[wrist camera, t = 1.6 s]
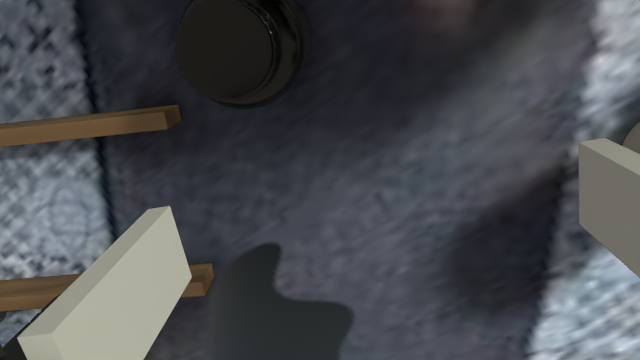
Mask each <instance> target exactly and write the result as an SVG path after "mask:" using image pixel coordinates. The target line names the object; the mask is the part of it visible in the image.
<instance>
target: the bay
mask: <svg viewBox="0 0 640 360" xmlns="http://www.w3.org/2000/svg"><path fill="white" fill-rule="evenodd" d="M180 121H182V119H181V114H180V109H179V104H178V105H169V106H160V107H151V108H142V109H133V110H124V111H115V112H106V113H97V114H87V115H78V116H69V117H60V118H51V119H42V120H33V121H24V122H15V123H6V124H0V147H5V146H14V145H23V144H33V143H42V142H52V141H61V140H71V139H80V138H89V137H99V136H108V135H118V134H127V133H136V132H146V131H155V130H165V129H169V128H170V127H172V126H174V125H175V124H177V123H179V122H180ZM188 266H189V269H190V273H191V276H192V278H191V280H190V281H189V283H188V285H187V286H186V288H185V290H184V291H183V293H182V295H181V297H194V296H205V294H206V292H207V290H208V288H209V286H210V284H211V282H212V280H213V278H214V276H215V275H214V271H213V266H212V263H205V264H193V265H188ZM81 275H82V274H73V275H61V276H49V277H37V278H25V279H13V280H1V281H0V322H2V321H3V320H4V318H5V316H6V311H14V310H27V309H40V308H44V307H45V306H46V305H47V304H48V303H49V302H50V301H51V300H52V299H54V298H55V297H56V296H58V295H60V294H61V293H63V292H64V291H65V290H66V289H67V288H68V287H69V286H70V285H71V284H72V283H73V282H74V281H75V280H77V279H78V278H79V277H80V276H81ZM181 297H180V298H181Z"/></svg>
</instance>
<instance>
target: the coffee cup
mask: <svg viewBox="0 0 640 360" xmlns="http://www.w3.org/2000/svg"><path fill="white" fill-rule="evenodd" d="M622 146H623V147H625V148H627V149H630V150H632V151H634V152H636V153H638V154H640V122H638V123H637V124H636V125H635V126H634V127H633V128H632V129H631V131H630V132H629V133H628V135H627V136H626V138H625V140H624V142H623V144H622Z"/></svg>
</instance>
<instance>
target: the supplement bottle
mask: <svg viewBox="0 0 640 360" xmlns="http://www.w3.org/2000/svg"><path fill="white" fill-rule="evenodd" d="M175 40H176V46H175V51H176V53H177V55H176V59H177V61H178V63H179V69H180V70H181V71H182V72H183V74H184V78H185V79H186V80H188V81H189V83H190V85H191V86H192V87H194V88H196V90H197V91H198V93H201V94H204V95H205V96H206V97H207V98H210V99H211V100H213V101H215V102H217V103H219V104H221V105H224V106H227V107H231V108H236V109H253V108H258V107H262V106H265V105H267V104H270V103H271V102H273V101H275V100H277V99H278V98H280V97H281V96H282V95H283V94H284V93H285V92H286V91H287V90H288V89H289V88H290V87H291V86H292V85H293V83H294V82H295V80H296V79H297V77H298V75H299V74H300V72H301V70H302V69H303V67H304V65H305V63H306V61H307V59H308V56H309V52H310V46H311V33H310V28H309V24H308V21H307V18H306V16H305V14H304V12H303V11H302V9H301V8H300V7H299V5H298V4H297V3H296V2H295V1H294V0H191V1H190V3H189V4H188V6H187V7H186V9H185V11H184V13H183V16H182V18H181V21H180V25H179V27H178V34H177V36H176V38H175Z"/></svg>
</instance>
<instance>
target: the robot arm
mask: <svg viewBox="0 0 640 360" xmlns="http://www.w3.org/2000/svg"><path fill="white" fill-rule="evenodd" d="M579 224H580V225H581V226H582V227H583V228H584V229H585V230H587V231H588V232H589V233H590V234H591V235H592V236H593V237H594V238H596V239H597V240H598V241H599V242H600V243H601V244H602V245H603V246H604V247H606V248H607V249H608V250H609V251H610V252H611V253H612V254H613V255H615V256H616V257H617V258H618V259H619V260H620V261H621V262H622V263H624V264H625V265H626V266H627V267H628V268H629V269H630V270H631V271H633V272H634V273H635V274H636V275H637V276H638V277H639V278H640V154H638V153H636V152H634V151H632V150H630V149H627V148H625V147H623V146H621V145H619V144H617V143H615V142H613V141H610V140H608V139H606V138H602V139H596V140H589V141H583V142H579ZM191 278H192V276H191V273H190V269H189V266H188V263H187V260H186V256H185V253H184V250H183V247H182V244H181V240H180V237H179V234H178V231H177V227H176V224H175V221H174V218H173V215H172V211H171V208H170V206H166V207H160V208H153V209H148V210H147V211H146V212H145V213H144V214H143V215H142V216H141V217H140V218H139V219H138V220H137V221H136V222H135V223H134V224H133V225H132V226H131V227H130V228H129V229H128V230H127V231H126V232H125V233H124V234H123V235H121V236H120V237H119V238H118V239H117V240H116V241H115V242H114V243H113V244H112V245H111V246H110V247H109V248H108V249H107V250H106V251H105V252H104V253H103V254H102V255H101V256H100V257H99V258H98V259H97V260H96V261H95V262H94V263H93V264H92V265H91V266H90V267H89V268H88V269H87V270H86V271H85V272H84V273H83V274H82V275H81V276H80V277H79V278H78V279H77V280H75V281H74V282H73V283H72V284H71V285H70V286H69V287H68V288H67V289H66V290H65V291H64V292H63V293H61V294H60V295H58V296H56V297H55V298H54V299H52V300H51V301H50V302H49V303H48V304H47V305H46V306H45V307H44V308H43V309H42V310H41V313H38V314H37V315H36V316H35V317H34V318H33V319H32V320H31V323H28V324H27V325H26V326H25V327H23V328H22V329H21V330H20V331H19V332H18V333H17V334H16V335H15V336H14V337H13V338H12V339H11V340H10V341H9V342H8V343H7V344H6V345H5V346H4V347H3V348H2V346H1V344H0V360H143V359H144V358H145V356H146V354H147V353H148V351H149V349H150V347H151V346H152V344H153V342H154V341H155V339H156V337H157V336H158V334H159V332H160V330H161V329H162V327H163V325H164V324H165V322H166V320H167V319H168V317H169V315H170V314H171V312H172V310H173V308H174V307H175V305H176V303H177V302H178V300H179V298H180V297H181V295H182V293H183V291H184V290H185V288H186V286H187V285H188V283H189V281H190V280H191Z"/></svg>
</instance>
